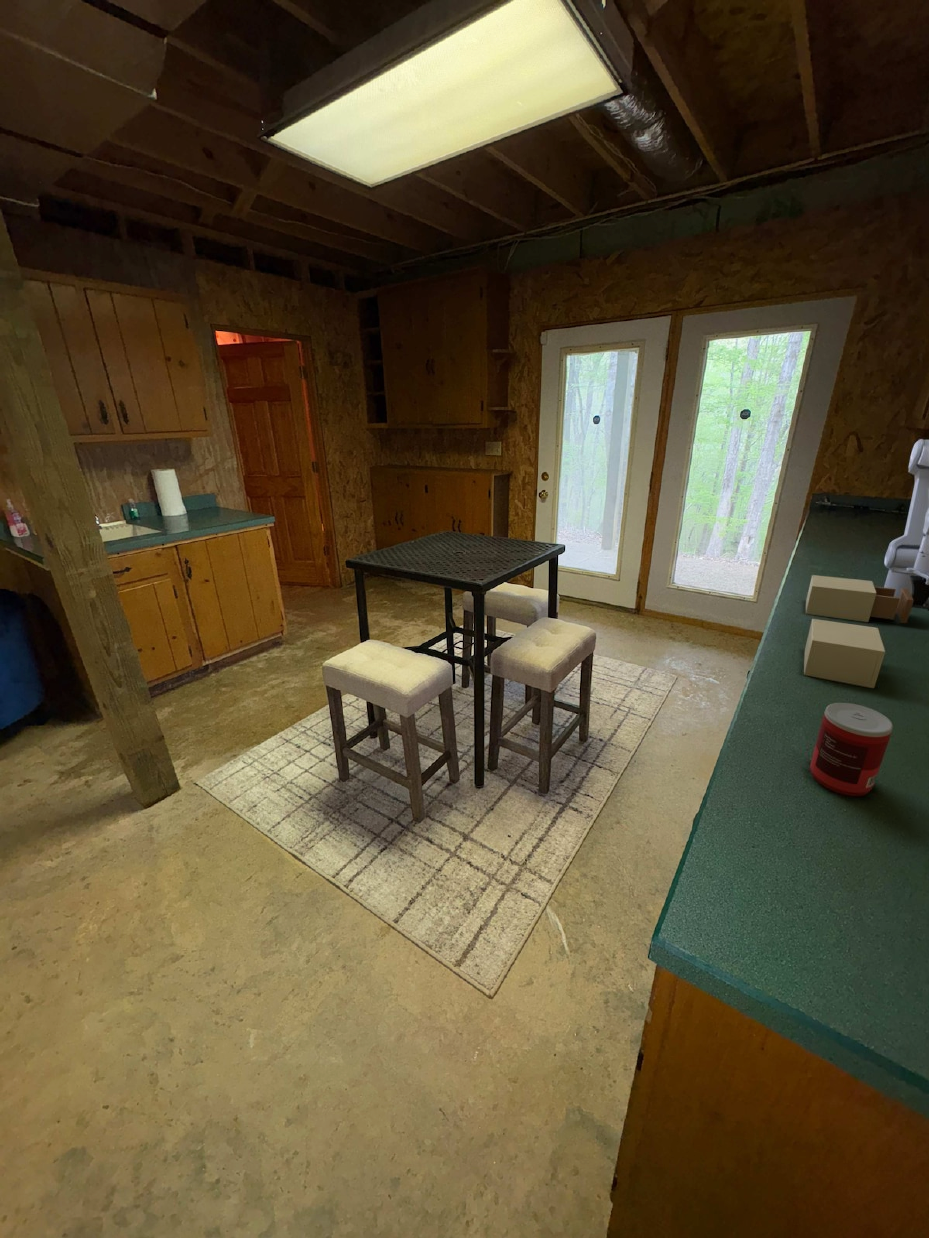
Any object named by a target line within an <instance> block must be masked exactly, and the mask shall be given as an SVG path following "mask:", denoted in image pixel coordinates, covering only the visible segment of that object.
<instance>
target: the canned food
mask: <svg viewBox="0 0 929 1238" xmlns="http://www.w3.org/2000/svg"><path fill="white" fill-rule="evenodd" d="M892 733H893V723H892V721H891V720H890V719H889V718H888V717H887V716H885V715H884V714H883V713H881V712H879V711H877V710H875V709H872V708H870V707H867V706H864V705H860V704H855V703H851V702H850V703H849V702H835V703H831V704H828V705H827V706H826V707H825V710H824V713H823V717H822V720H821V723H820V727H819V731H818V735H817V739H816V743H815V747H814V750H813V753H812V757H811V761H810V765H809V767H810V773H811V775H812V777H813V779H814V780H815V781H816V782H817V783H818V784H820V785H821V786H823V787H824V788H826V789H828V790H830V791H832V792H834V793H838V794H839V795H843V796H849V797H860V796H861V797H862V796H865V795H867V794H868V793H869V792H870V791H871V790H872V789H873V788H874V786H875V782H876V780H877V777H878V773H879V771H880V768H881V765H882V762H883V759H884V756H885V753H886V750H887V747H888V745H889V742H890V739H891V735H892Z"/></svg>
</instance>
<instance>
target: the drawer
mask: <svg viewBox="0 0 929 1238" xmlns="http://www.w3.org/2000/svg"><path fill="white" fill-rule="evenodd" d="M874 588H875V590H876V597H875V600H874V604H873V607H872V611H871V614H870V618H878V619H885V620H893V621H894V619H895V617H896V615H897V618H898V620H899V622H900V623H901V624H907V623H908V620H909V617H910V614H911V610H912V608H914V609H923V610H927V611H928V612H929V598H928V600H927V601H926V603H925V604H924V605H925V606H921V605H912V604H913V601H914V600H913V598H912V596H911V594H910V592H909V591H908V589H906V588H902V589H901V592H900V595H899V598H898V597H894V594H895V590H896V589H893V588H884V586H883V587H882V586H874Z"/></svg>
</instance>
